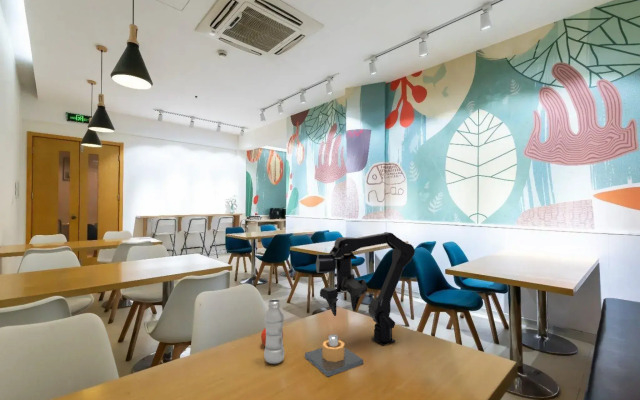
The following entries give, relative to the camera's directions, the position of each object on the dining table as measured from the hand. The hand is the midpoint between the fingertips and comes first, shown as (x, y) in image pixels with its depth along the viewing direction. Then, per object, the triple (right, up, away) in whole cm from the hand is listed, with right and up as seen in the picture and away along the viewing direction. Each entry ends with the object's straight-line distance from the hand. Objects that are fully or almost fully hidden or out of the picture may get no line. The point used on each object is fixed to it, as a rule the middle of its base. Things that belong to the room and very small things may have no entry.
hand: (344, 313), depth 111 cm
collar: (-5, -10, -12) cm, 16 cm away
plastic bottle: (-25, -12, -13) cm, 30 cm away
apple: (-27, -12, -1) cm, 30 cm away
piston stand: (-5, -11, -12) cm, 17 cm away
